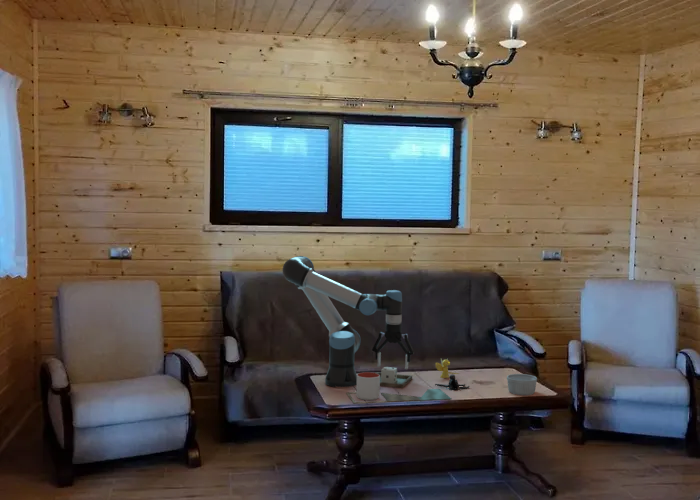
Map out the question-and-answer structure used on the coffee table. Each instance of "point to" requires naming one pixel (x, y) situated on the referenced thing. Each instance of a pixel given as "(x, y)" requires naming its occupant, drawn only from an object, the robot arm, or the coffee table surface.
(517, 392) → the ramekin
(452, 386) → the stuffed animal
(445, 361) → the figurine
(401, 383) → the dice tray
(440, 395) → the track
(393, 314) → the robot arm
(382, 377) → the die
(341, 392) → the coffee table surface
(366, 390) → the cup
